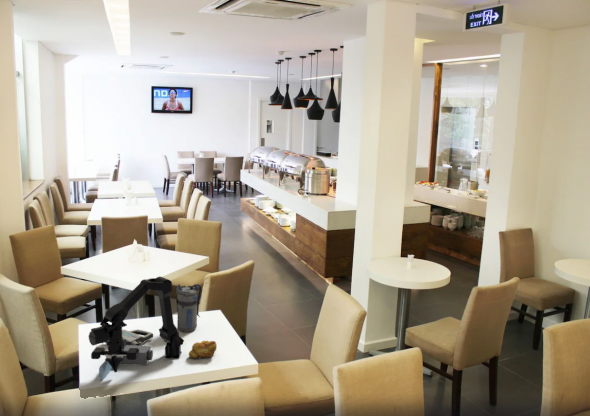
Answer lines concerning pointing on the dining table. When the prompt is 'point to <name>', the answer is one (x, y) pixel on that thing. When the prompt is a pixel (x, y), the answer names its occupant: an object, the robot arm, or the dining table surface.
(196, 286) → the beverage bottle
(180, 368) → the dining table surface
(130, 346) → the grey block with knob
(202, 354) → the bread roll
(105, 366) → the side door
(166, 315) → the robot arm
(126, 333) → the camcorder
